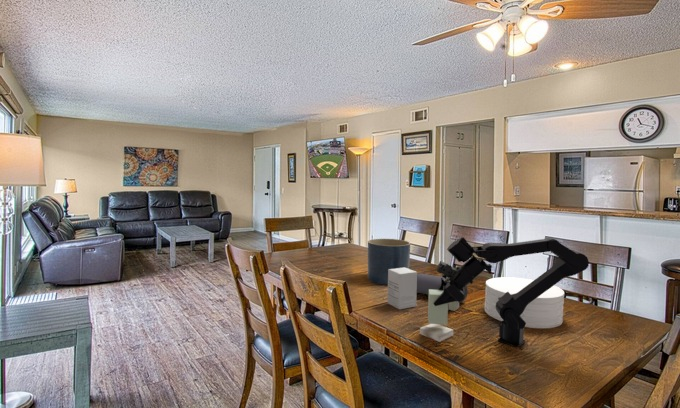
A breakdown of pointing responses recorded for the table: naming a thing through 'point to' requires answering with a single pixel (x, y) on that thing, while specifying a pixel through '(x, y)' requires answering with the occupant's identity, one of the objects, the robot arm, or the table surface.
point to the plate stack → (537, 313)
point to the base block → (436, 332)
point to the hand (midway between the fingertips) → (433, 301)
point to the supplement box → (402, 288)
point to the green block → (436, 309)
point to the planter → (386, 258)
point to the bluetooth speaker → (431, 284)
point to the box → (453, 306)
